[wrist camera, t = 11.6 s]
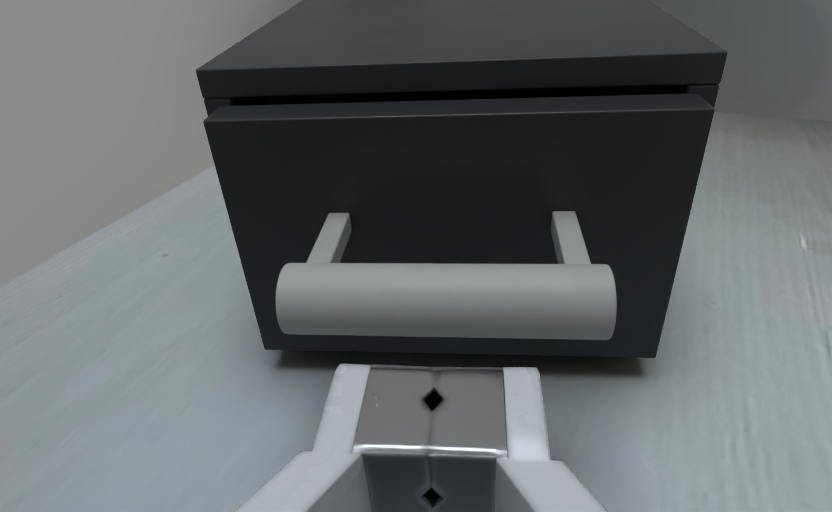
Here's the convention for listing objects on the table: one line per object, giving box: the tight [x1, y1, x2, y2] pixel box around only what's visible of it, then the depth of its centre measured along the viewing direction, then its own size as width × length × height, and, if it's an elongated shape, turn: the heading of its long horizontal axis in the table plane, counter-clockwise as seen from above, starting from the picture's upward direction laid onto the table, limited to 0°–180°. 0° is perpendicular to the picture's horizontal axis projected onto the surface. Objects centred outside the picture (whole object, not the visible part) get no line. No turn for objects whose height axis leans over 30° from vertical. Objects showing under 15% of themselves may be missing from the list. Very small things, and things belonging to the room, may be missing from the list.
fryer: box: [196, 0, 727, 117], centre depth 23 cm, size 15×14×10 cm
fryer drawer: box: [204, 86, 714, 358], centre depth 20 cm, size 18×12×8 cm
